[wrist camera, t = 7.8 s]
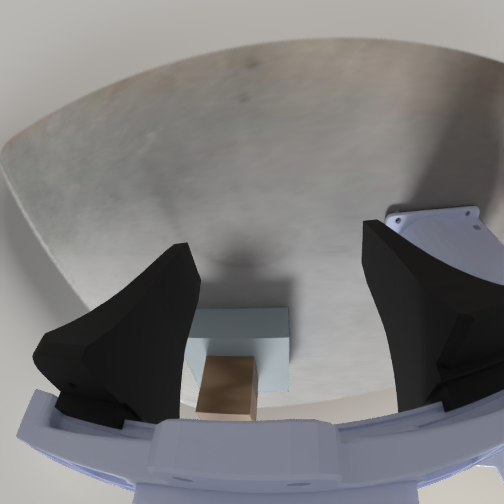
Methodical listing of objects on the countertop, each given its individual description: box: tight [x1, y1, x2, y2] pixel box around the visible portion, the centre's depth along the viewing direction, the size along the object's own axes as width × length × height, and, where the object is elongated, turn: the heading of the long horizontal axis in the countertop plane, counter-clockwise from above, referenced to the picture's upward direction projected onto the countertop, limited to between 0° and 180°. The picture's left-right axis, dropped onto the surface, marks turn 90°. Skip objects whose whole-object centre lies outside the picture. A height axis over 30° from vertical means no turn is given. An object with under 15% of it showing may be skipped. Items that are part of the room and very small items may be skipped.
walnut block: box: [196, 356, 258, 421], centre depth 24 cm, size 4×4×6 cm
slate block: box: [184, 307, 289, 392], centre depth 29 cm, size 10×10×4 cm
